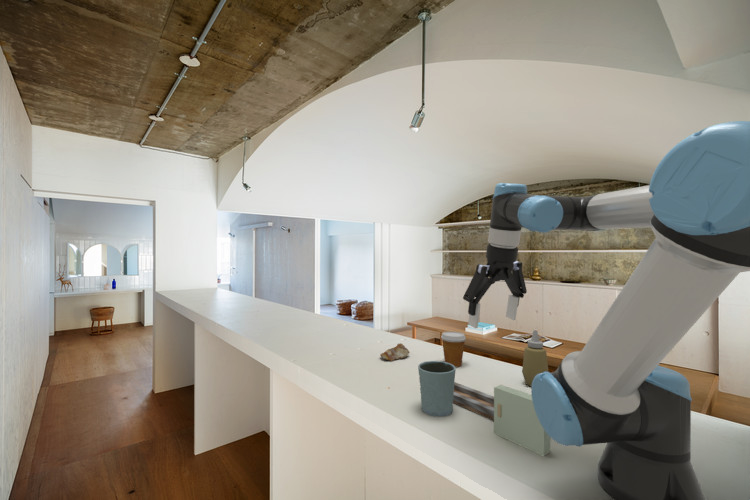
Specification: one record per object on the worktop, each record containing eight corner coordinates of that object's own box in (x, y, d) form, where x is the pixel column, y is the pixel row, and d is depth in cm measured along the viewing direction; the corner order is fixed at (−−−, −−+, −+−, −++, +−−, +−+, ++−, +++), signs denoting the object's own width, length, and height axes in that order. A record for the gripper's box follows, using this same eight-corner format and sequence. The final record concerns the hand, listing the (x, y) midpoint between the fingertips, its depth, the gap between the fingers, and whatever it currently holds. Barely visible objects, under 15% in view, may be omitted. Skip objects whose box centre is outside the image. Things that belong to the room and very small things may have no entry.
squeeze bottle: (520, 386, 112) (521, 331, 112) (523, 378, 119) (523, 327, 120) (548, 391, 108) (548, 334, 109) (549, 383, 116) (549, 329, 116)
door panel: (550, 451, 75) (550, 401, 75) (543, 456, 73) (543, 405, 73) (500, 429, 85) (500, 384, 85) (493, 433, 83) (493, 387, 83)
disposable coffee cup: (466, 369, 129) (466, 337, 129) (440, 367, 130) (440, 336, 131) (465, 361, 138) (465, 331, 138) (440, 360, 140) (441, 330, 140)
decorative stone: (414, 344, 146) (393, 356, 134) (414, 354, 146) (393, 367, 135) (395, 340, 152) (374, 351, 140) (396, 349, 152) (375, 361, 141)
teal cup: (459, 407, 97) (460, 364, 97) (448, 421, 88) (448, 375, 88) (426, 399, 102) (426, 358, 102) (412, 412, 93) (412, 368, 93)
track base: (519, 415, 92) (519, 405, 92) (502, 424, 87) (502, 414, 87) (448, 387, 111) (448, 379, 111) (431, 393, 106) (431, 385, 106)
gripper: (525, 239, 96) (514, 310, 101) (454, 244, 85) (446, 323, 90) (548, 245, 89) (536, 320, 94) (475, 251, 78) (465, 336, 83)
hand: (492, 322), depth 92 cm, fingers open, 13 cm apart
